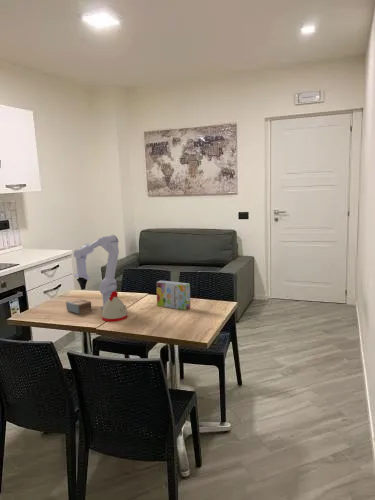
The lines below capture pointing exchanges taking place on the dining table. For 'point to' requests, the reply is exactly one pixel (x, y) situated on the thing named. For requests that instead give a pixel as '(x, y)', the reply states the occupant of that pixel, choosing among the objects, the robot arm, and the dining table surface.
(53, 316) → the dining table surface
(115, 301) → the kitchen timer
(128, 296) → the dining table surface
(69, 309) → the door
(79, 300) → the cabinet
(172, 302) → the snack box
